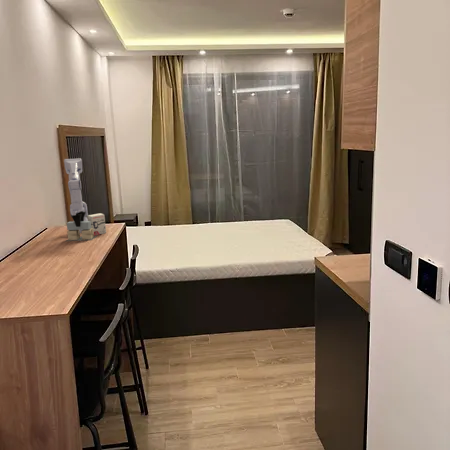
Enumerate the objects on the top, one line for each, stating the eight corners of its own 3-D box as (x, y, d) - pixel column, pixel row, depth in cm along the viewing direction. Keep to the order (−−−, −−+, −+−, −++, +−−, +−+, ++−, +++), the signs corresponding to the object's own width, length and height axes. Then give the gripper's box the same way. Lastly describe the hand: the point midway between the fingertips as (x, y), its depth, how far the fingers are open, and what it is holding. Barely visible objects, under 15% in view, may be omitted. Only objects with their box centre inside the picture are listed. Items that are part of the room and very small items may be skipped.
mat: (72, 237, 249) (72, 236, 249) (97, 236, 249) (97, 235, 249) (64, 242, 239) (64, 241, 238) (91, 240, 238) (91, 240, 238)
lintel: (67, 230, 240) (66, 223, 239) (70, 228, 244) (69, 221, 243) (88, 229, 240) (88, 222, 239) (91, 227, 244) (90, 220, 243)
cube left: (71, 238, 246) (70, 229, 245) (80, 237, 246) (79, 229, 245) (68, 240, 241) (67, 231, 240) (77, 239, 241) (76, 231, 240)
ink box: (93, 236, 249) (91, 216, 247) (89, 235, 253) (87, 215, 250) (106, 233, 255) (104, 213, 252) (102, 232, 258) (100, 213, 256)
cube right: (85, 237, 245) (84, 228, 244) (94, 237, 245) (93, 228, 244) (82, 239, 241) (81, 230, 240) (91, 239, 240) (90, 230, 239)
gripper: (74, 200, 246) (77, 223, 249) (64, 204, 232) (67, 228, 235) (86, 199, 246) (89, 222, 249) (77, 203, 232) (80, 228, 234)
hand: (79, 225), depth 242 cm, fingers closed on lintel, 4 cm apart
